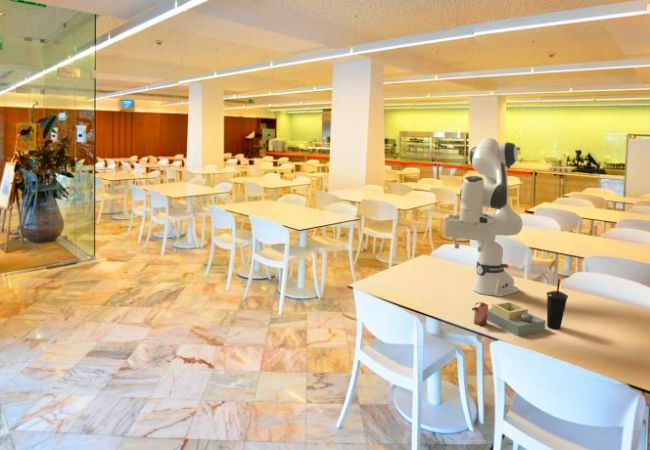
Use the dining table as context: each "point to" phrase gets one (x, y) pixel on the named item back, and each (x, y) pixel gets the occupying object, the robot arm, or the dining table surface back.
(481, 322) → the spout can
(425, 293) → the dining table surface
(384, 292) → the dining table surface
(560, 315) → the drinking cup
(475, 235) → the robot arm
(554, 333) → the dining table surface
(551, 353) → the dining table surface
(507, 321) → the grey block with tray
